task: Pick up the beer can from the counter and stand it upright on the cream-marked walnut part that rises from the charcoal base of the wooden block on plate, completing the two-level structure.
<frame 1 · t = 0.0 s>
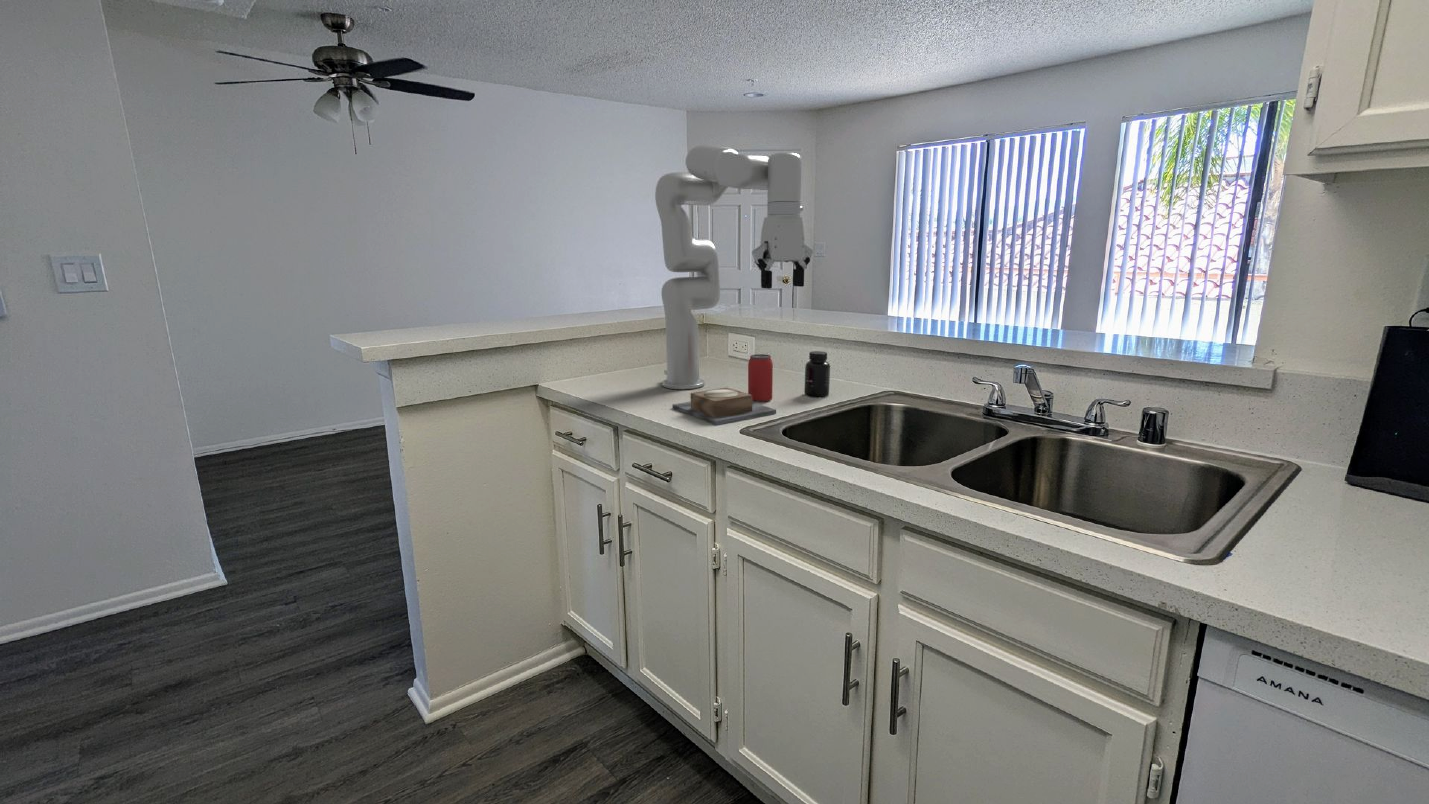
hand: (782, 287, 156), 31 cm above the worktop, tool pointing down, fingers open, 9 cm apart
beer can: (760, 400, 181), on the worktop
supplement bottle: (816, 395, 186), on the worktop
wooden block on plate: (723, 410, 170), on the worktop
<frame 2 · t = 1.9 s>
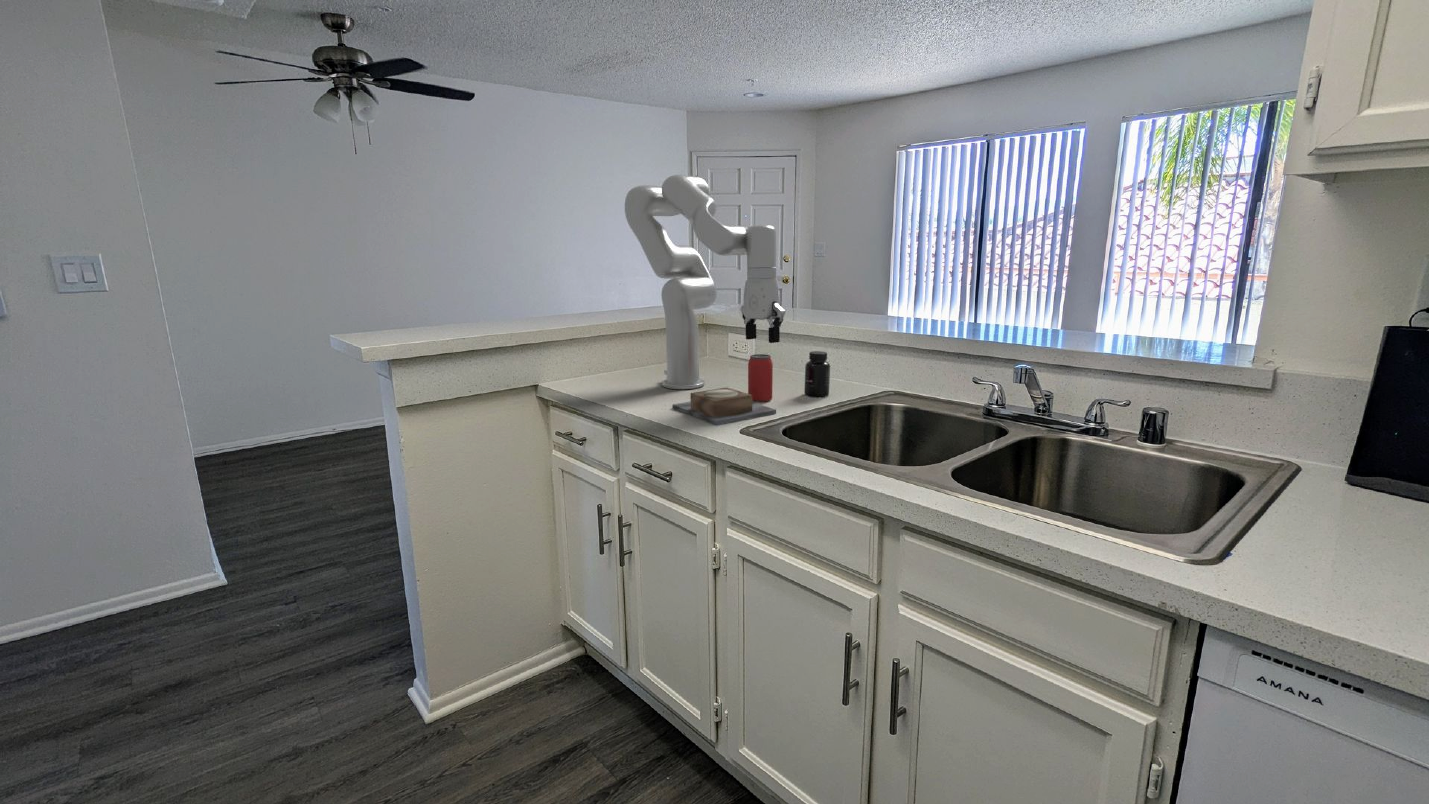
hand: (762, 340, 177), 16 cm above the worktop, tool pointing down, fingers open, 9 cm apart
nothing on the worktop moved.
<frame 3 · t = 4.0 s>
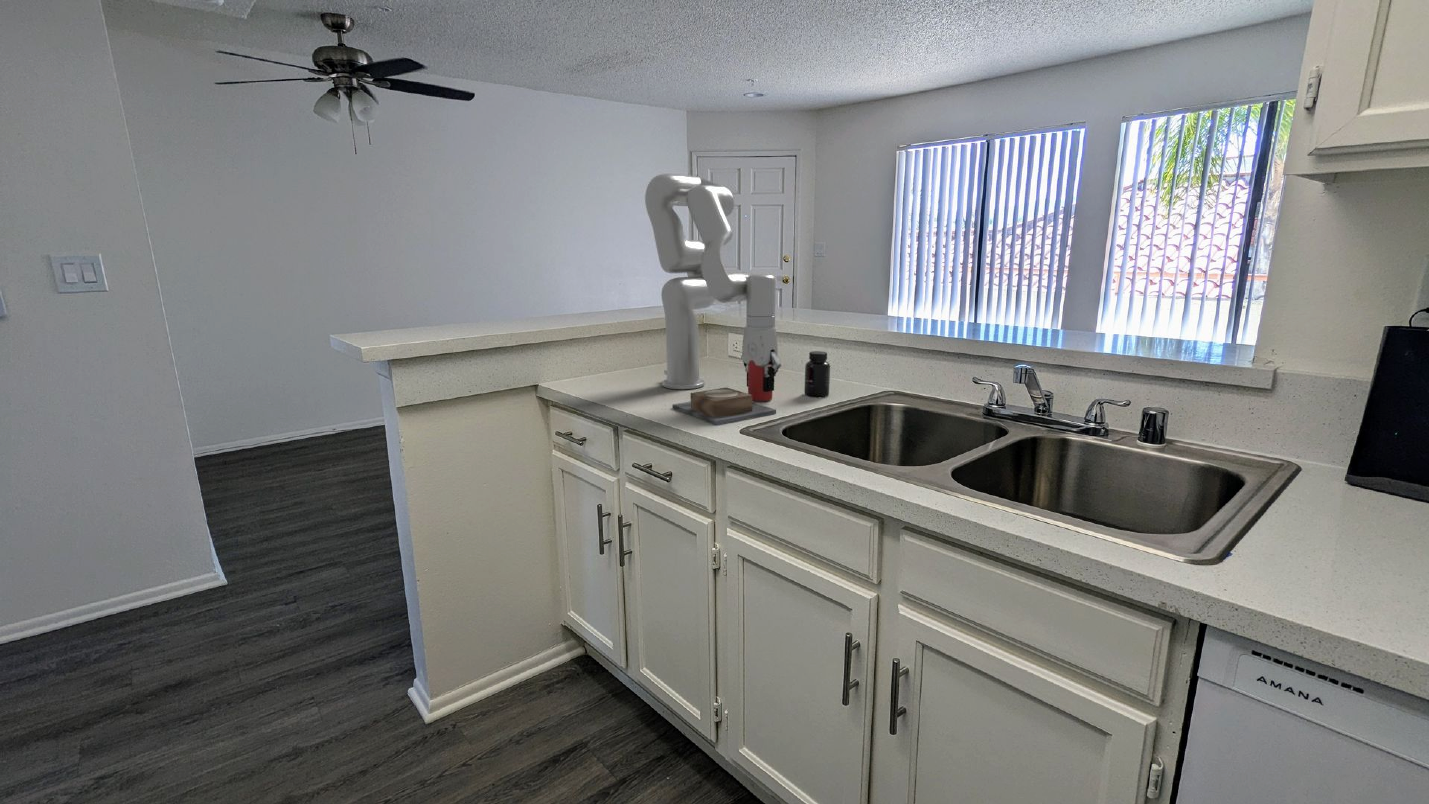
hand: (760, 388, 180), 3 cm above the worktop, tool pointing down, fingers closed on beer can, 6 cm apart
beer can: (760, 400, 181), on the worktop, touching gripper
everything else where it was.
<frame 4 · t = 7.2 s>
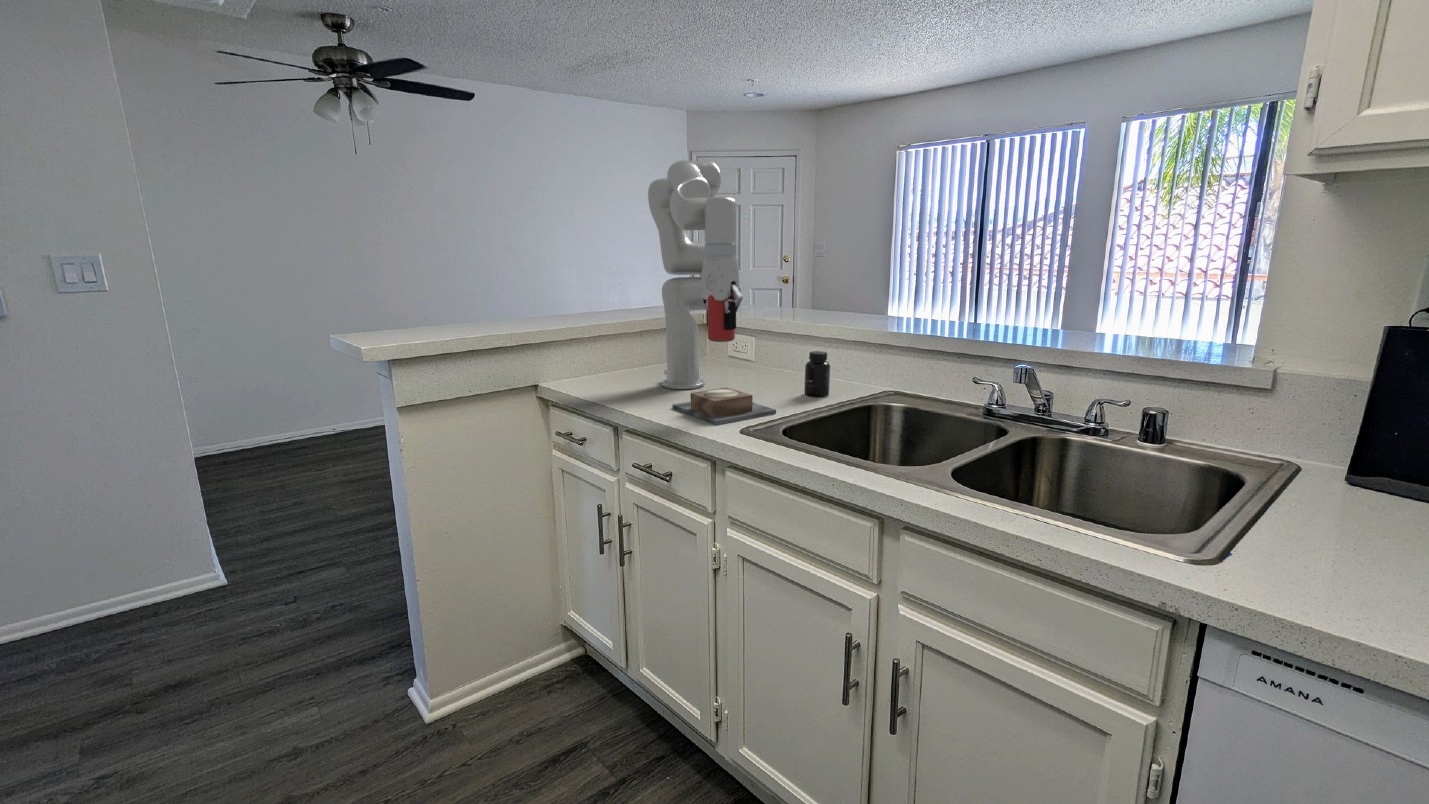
hand: (721, 327, 162), 22 cm above the worktop, tool pointing down, fingers closed on beer can, 6 cm apart
beer can: (721, 341, 163), point 18 cm above the worktop, touching gripper
everything else where it was.
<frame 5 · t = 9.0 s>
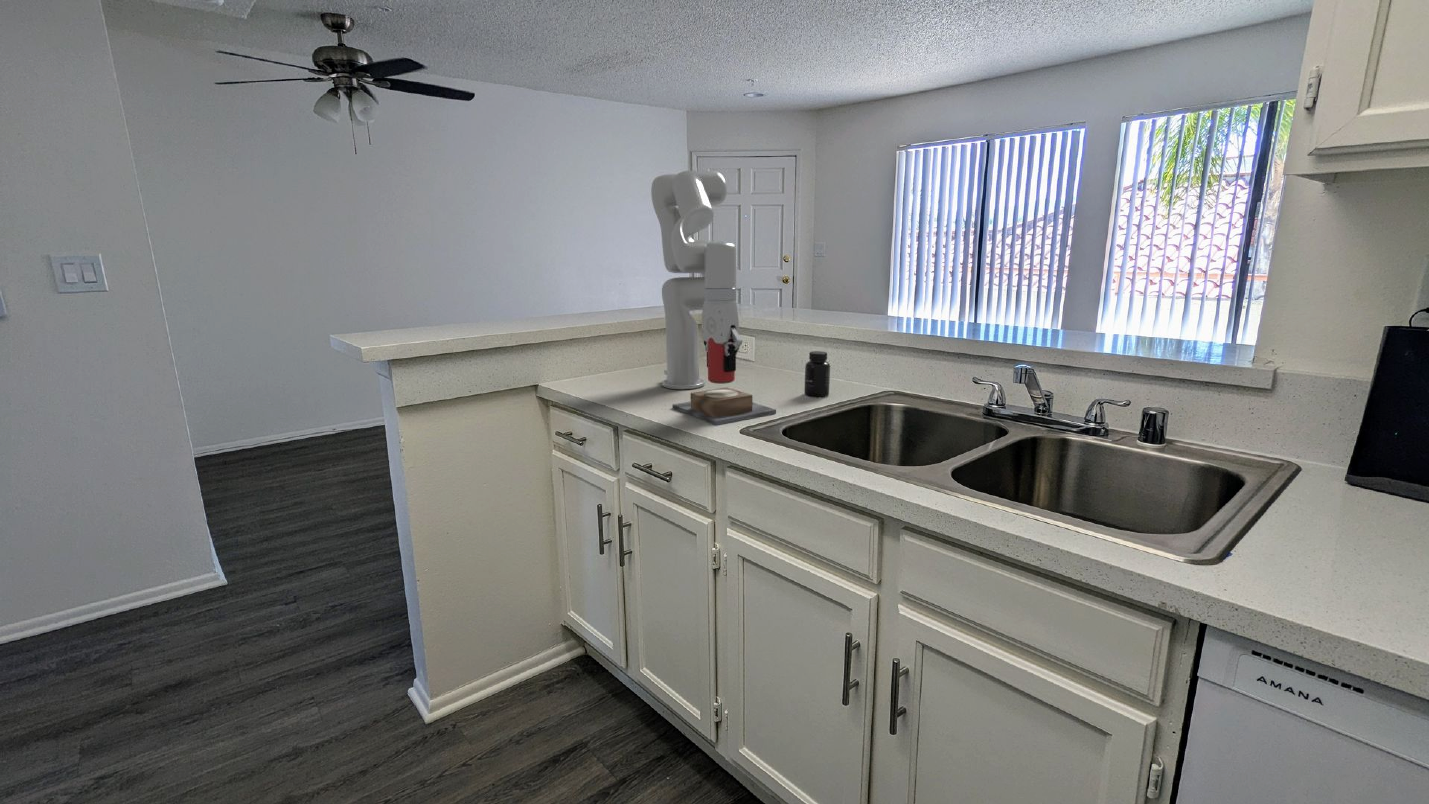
hand: (721, 368, 164), 11 cm above the worktop, tool pointing down, fingers closed on beer can, 6 cm apart
beer can: (721, 382, 165), point 8 cm above the worktop, touching gripper
everything else where it was.
when the fingers open (10 cm above the worktop, at t = 10.4 s): beer can drops 1 cm, resting on wooden block on plate.
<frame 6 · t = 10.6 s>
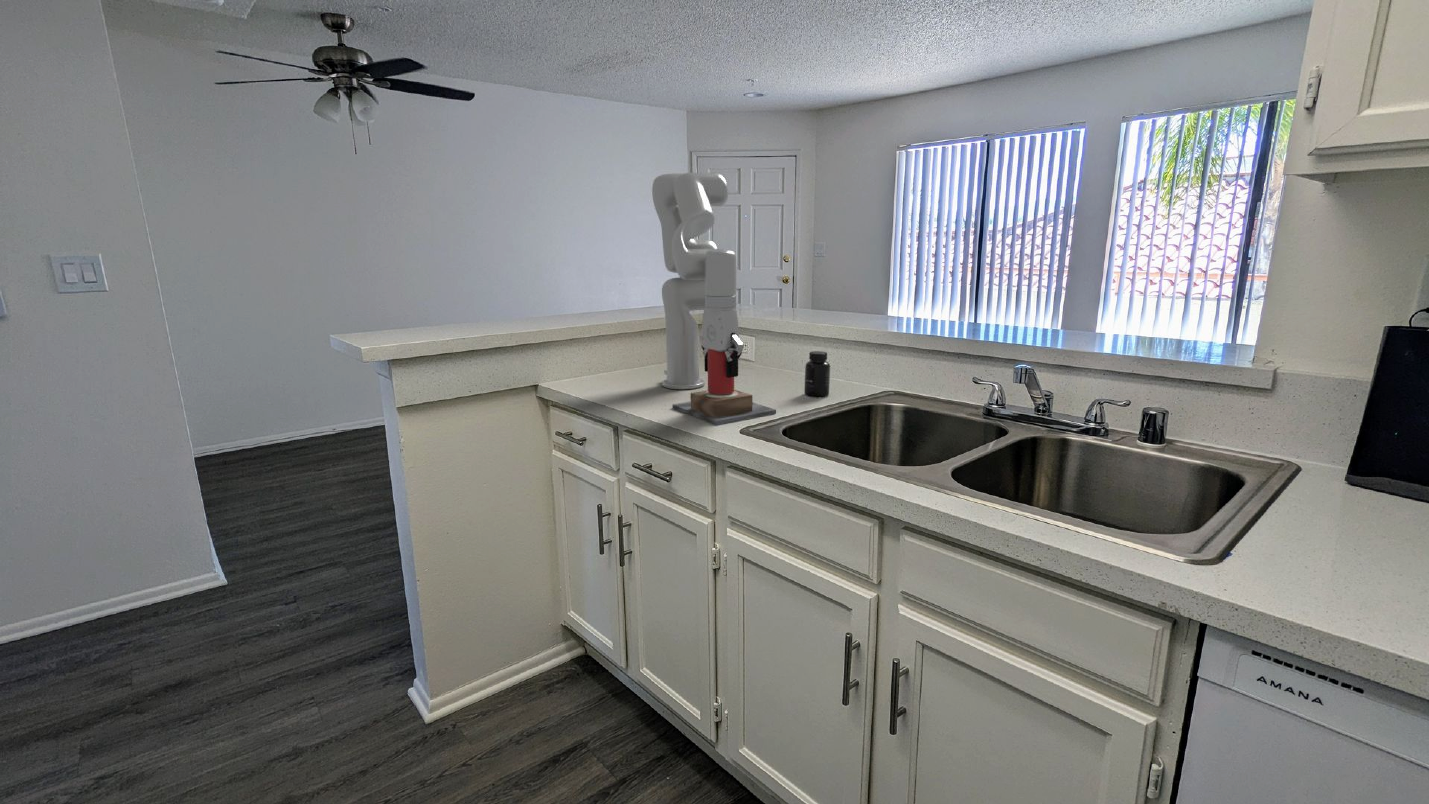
hand: (721, 373, 164), 10 cm above the worktop, tool pointing down, fingers open, 8 cm apart
beer can: (721, 393, 166), point 5 cm above the worktop, touching wooden block on plate
everything else where it was.
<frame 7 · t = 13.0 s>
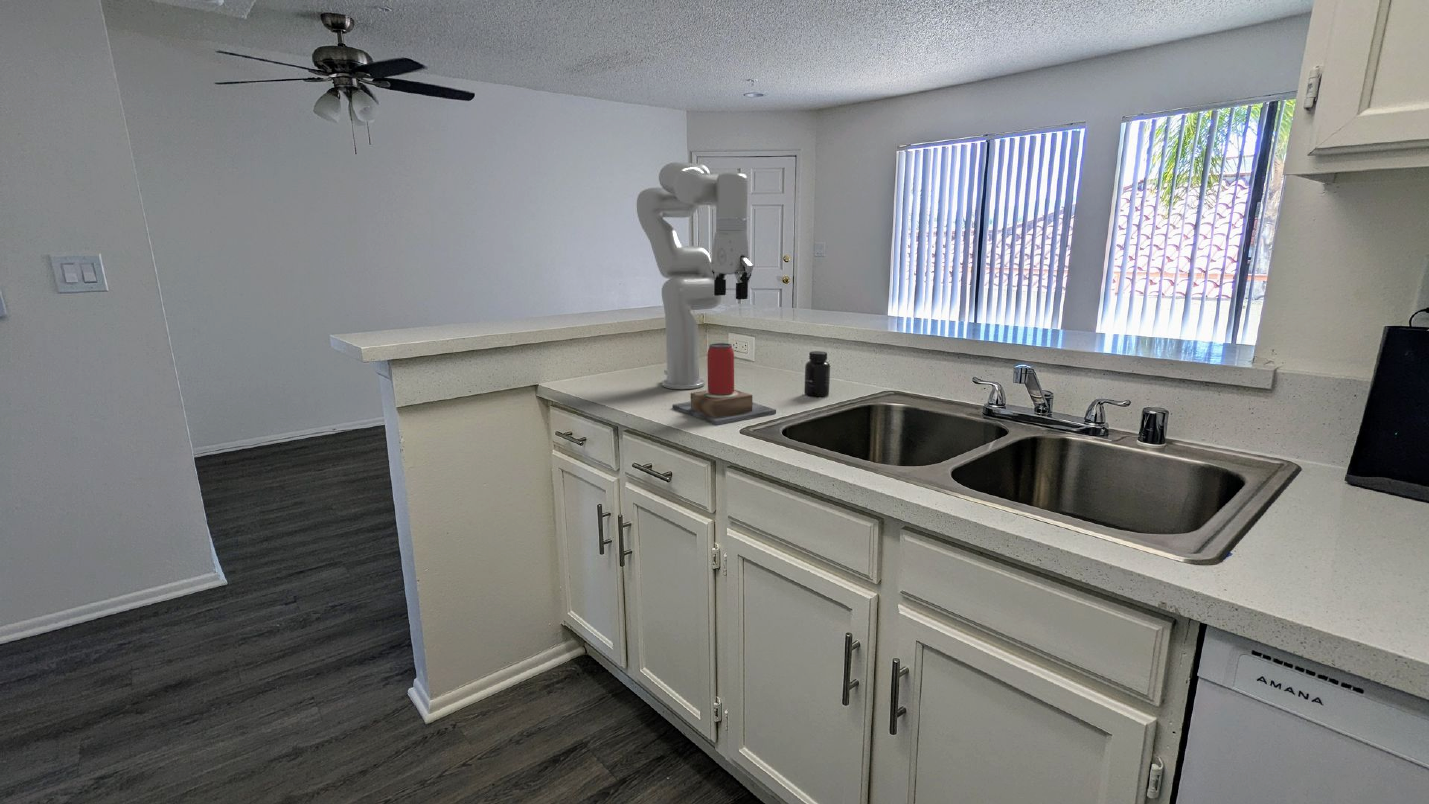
hand: (730, 297, 168), 28 cm above the worktop, tool pointing down, fingers open, 9 cm apart
nothing on the worktop moved.
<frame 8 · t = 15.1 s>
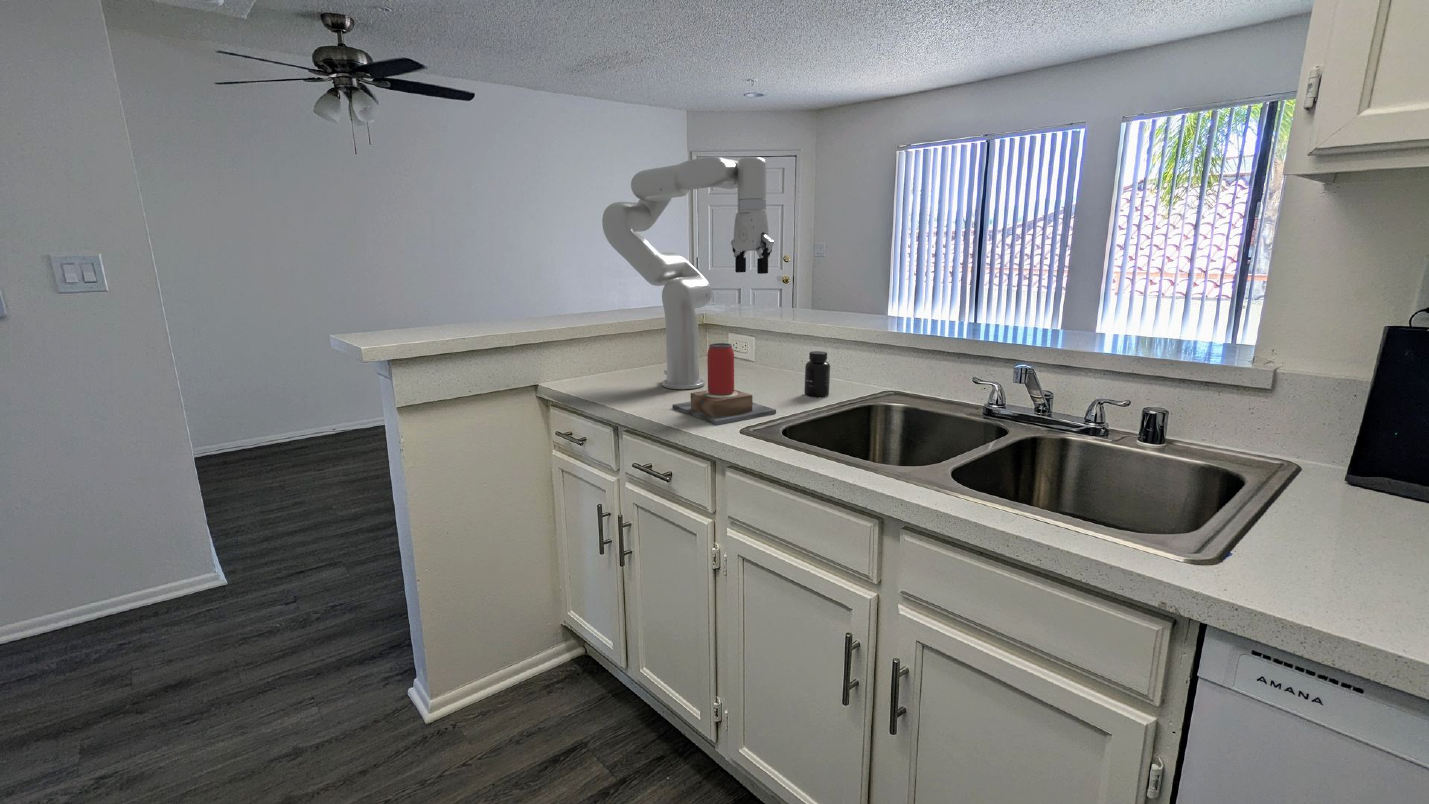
hand: (751, 272, 181), 33 cm above the worktop, tool pointing down, fingers open, 9 cm apart
nothing on the worktop moved.
at the end: beer can 0.3 cm from the target spot on the wooden block on plate, point 5.0 cm above the wooden block on plate's base; beer can tilted 0°; the gripper is holding nothing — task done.
